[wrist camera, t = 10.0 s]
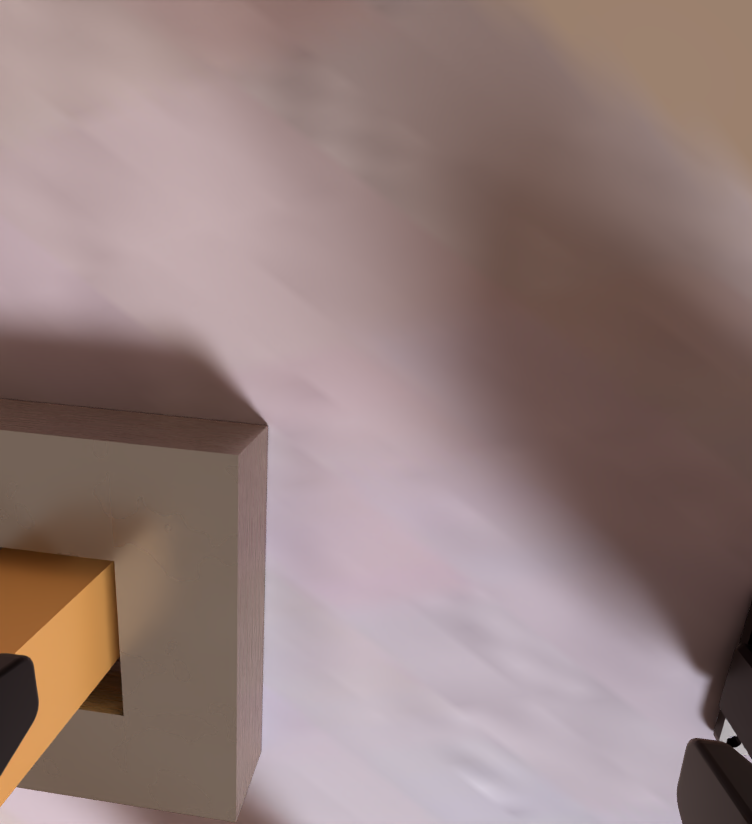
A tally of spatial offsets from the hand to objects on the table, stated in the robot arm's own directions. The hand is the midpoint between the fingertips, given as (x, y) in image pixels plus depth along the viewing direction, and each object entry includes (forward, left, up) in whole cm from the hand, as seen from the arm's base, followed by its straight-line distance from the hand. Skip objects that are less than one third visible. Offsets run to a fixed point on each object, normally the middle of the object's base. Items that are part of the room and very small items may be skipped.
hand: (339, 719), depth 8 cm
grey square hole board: (+11, +7, -12) cm, 18 cm away
